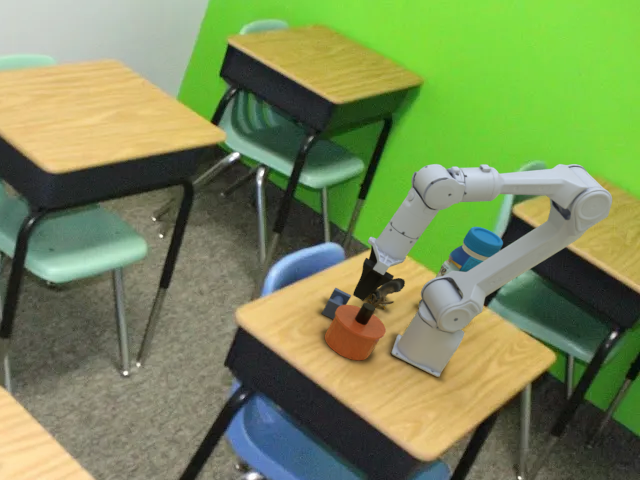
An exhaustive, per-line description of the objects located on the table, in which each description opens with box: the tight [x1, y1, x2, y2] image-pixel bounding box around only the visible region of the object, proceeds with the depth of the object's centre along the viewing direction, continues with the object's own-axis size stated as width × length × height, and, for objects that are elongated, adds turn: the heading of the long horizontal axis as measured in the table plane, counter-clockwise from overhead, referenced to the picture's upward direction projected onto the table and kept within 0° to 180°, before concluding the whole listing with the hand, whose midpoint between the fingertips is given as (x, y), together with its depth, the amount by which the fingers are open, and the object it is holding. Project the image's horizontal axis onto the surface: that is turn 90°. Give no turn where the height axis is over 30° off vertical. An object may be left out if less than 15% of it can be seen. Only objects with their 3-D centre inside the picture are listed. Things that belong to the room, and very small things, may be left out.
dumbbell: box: [321, 287, 352, 320], centre depth 183 cm, size 6×3×3 cm, turn 152°
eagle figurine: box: [367, 277, 406, 311], centre depth 189 cm, size 8×7×9 cm
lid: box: [335, 302, 387, 340], centre depth 171 cm, size 10×10×4 cm
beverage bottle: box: [418, 226, 504, 309], centre depth 188 cm, size 8×8×20 cm
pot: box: [324, 316, 380, 361], centre depth 174 cm, size 9×9×5 cm
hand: (361, 289), depth 169 cm, fingers open, 7 cm apart
